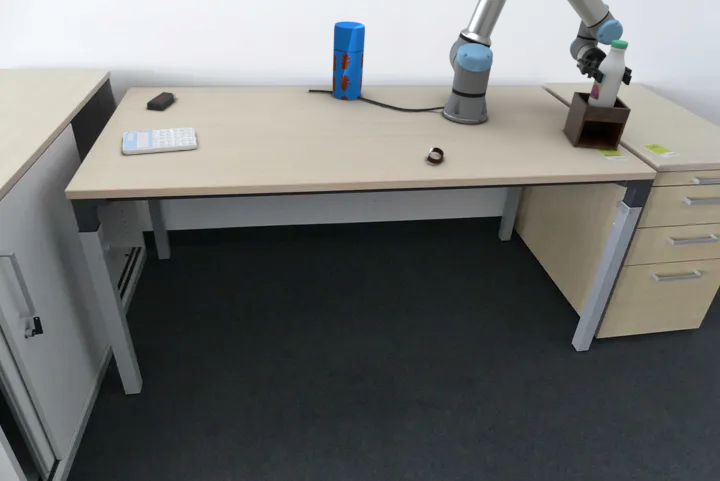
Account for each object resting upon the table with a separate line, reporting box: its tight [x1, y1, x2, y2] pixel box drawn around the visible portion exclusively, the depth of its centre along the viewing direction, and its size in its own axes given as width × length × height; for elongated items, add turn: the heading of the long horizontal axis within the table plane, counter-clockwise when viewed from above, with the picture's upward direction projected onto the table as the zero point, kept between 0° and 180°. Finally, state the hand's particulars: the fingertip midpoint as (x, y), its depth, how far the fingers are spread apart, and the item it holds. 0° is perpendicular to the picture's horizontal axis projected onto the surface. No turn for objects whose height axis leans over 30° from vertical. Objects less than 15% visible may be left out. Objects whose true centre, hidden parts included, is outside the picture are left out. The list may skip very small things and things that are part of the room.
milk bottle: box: [588, 39, 629, 107], centre depth 164 cm, size 8×8×20 cm
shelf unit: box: [562, 91, 632, 151], centre depth 172 cm, size 14×14×14 cm
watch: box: [426, 146, 445, 165], centre depth 155 cm, size 8×5×4 cm, turn 157°
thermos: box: [332, 21, 366, 101], centre depth 192 cm, size 11×11×25 cm
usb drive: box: [146, 91, 177, 112], centre depth 180 cm, size 5×12×3 cm, turn 170°
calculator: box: [121, 126, 198, 155], centre depth 155 cm, size 13×20×2 cm, turn 108°
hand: (615, 79), depth 160 cm, fingers closed on milk bottle, 8 cm apart
